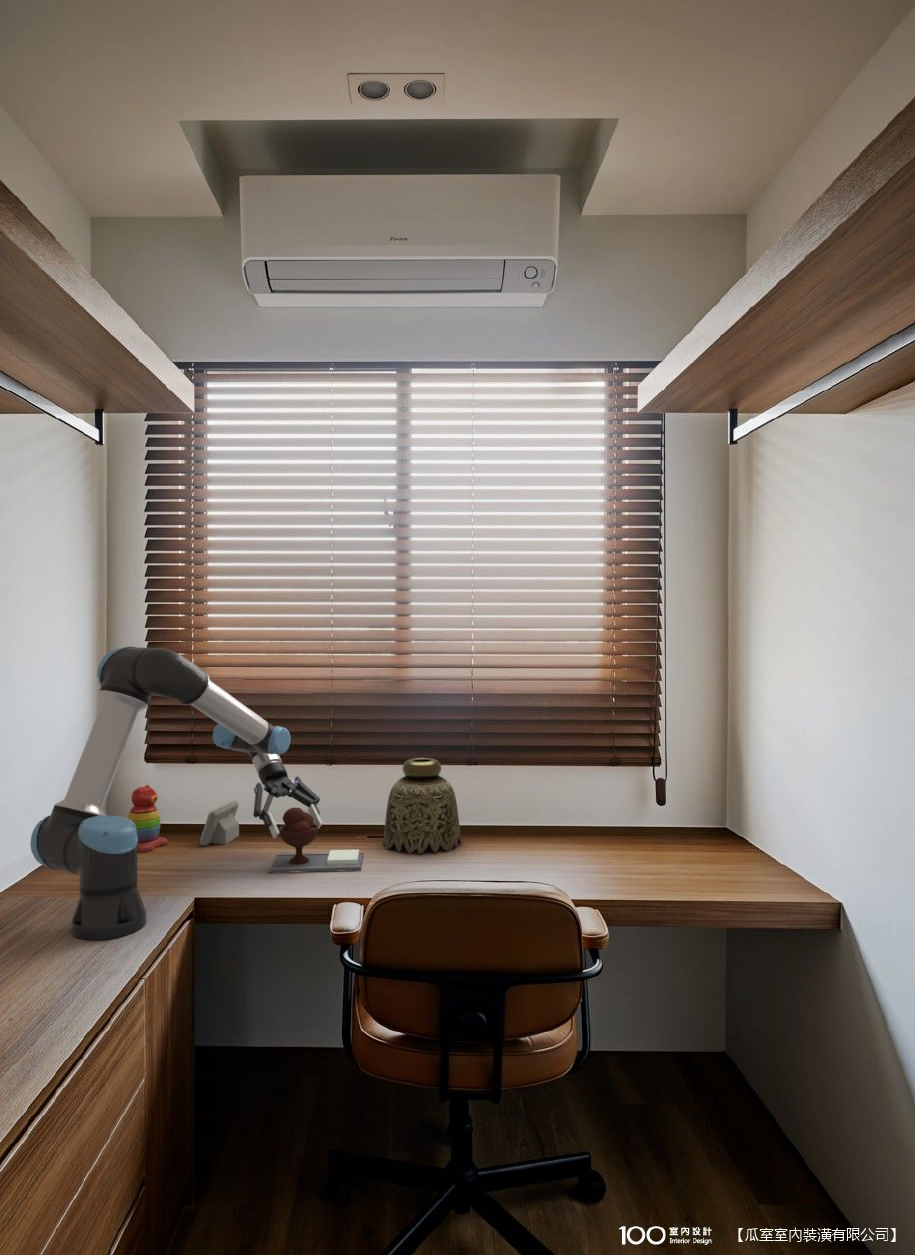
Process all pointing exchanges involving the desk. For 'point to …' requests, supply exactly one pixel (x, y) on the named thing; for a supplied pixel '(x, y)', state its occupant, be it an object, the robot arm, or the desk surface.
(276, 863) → the tray
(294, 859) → the ice cream bowl
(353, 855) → the pale green flat block
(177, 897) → the desk surface
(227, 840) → the digital clock
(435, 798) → the lamp shade
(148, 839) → the stacking bear
